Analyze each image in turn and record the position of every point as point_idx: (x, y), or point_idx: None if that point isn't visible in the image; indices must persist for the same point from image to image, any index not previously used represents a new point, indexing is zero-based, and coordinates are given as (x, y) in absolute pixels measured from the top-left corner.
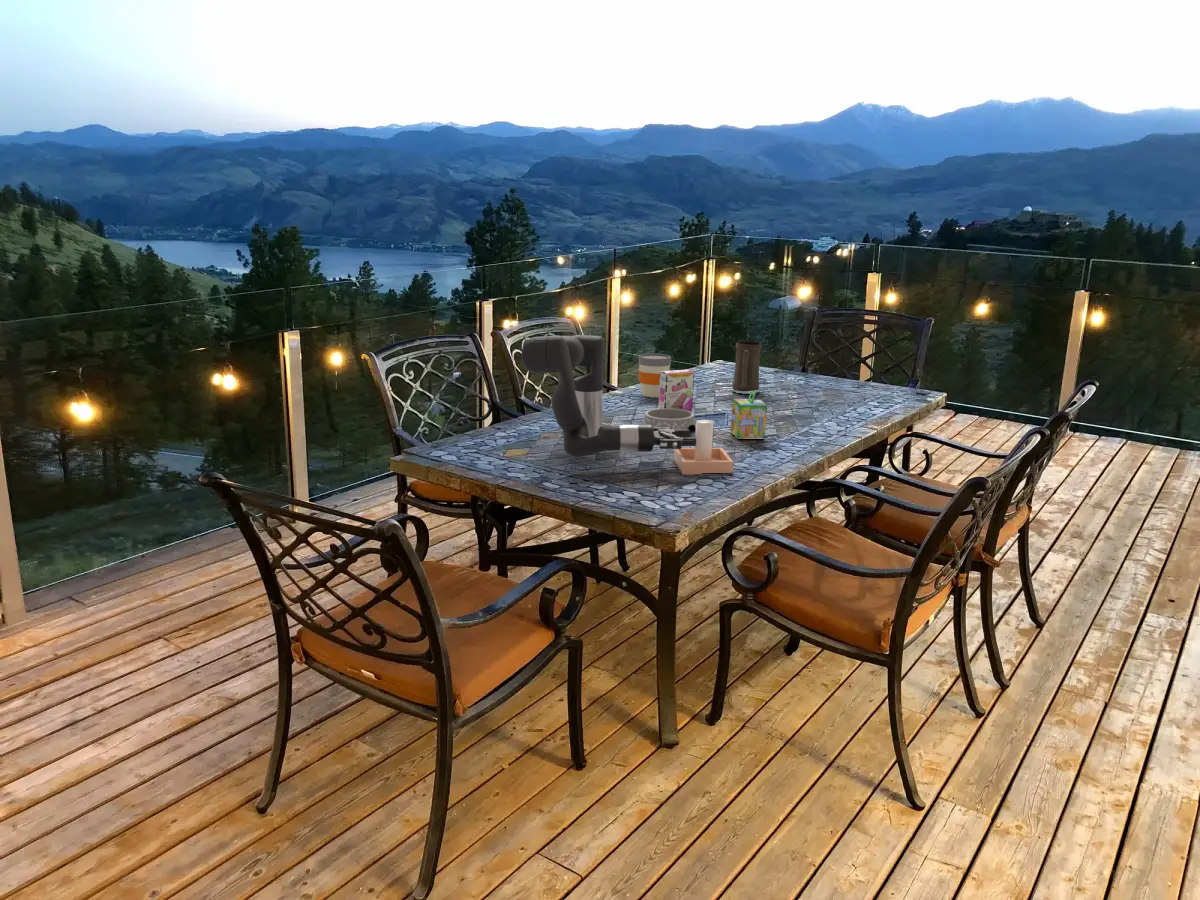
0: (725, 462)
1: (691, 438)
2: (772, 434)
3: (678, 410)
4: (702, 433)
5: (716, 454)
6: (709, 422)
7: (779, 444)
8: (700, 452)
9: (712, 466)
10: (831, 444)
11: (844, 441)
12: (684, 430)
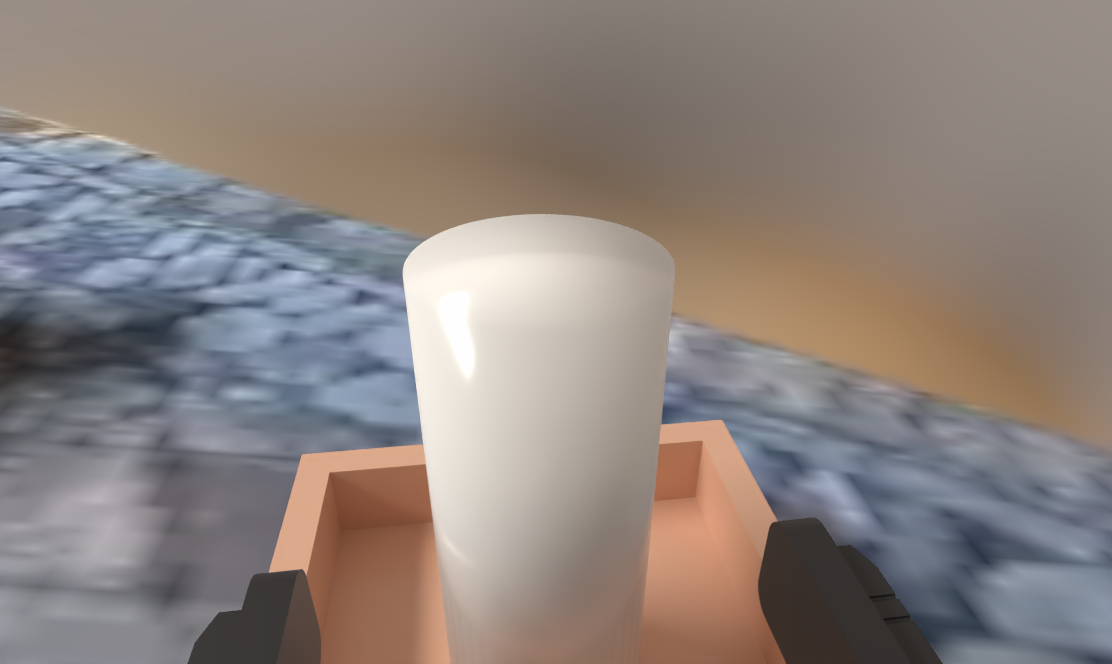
0: (745, 466)
1: (849, 568)
2: None
3: None
4: (659, 407)
5: (335, 530)
6: (560, 235)
7: (104, 285)
8: (639, 612)
9: None
10: (197, 194)
11: (175, 175)
12: (281, 652)
